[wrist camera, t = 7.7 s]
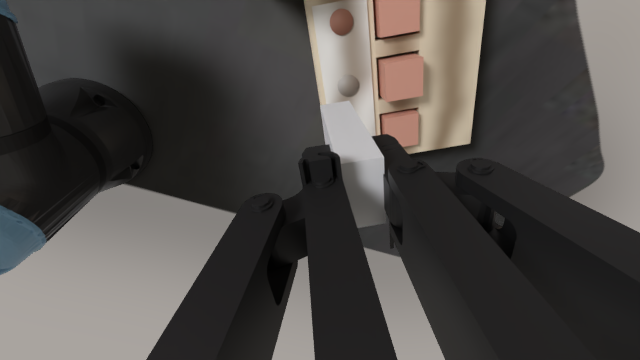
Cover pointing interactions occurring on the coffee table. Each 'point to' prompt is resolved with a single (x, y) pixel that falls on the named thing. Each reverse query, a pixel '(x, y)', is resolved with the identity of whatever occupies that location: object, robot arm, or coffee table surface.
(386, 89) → the button
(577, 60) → the coffee table surface
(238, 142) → the coffee table surface
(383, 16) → the button
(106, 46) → the coffee table surface
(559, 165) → the coffee table surface
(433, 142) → the board
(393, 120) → the button
